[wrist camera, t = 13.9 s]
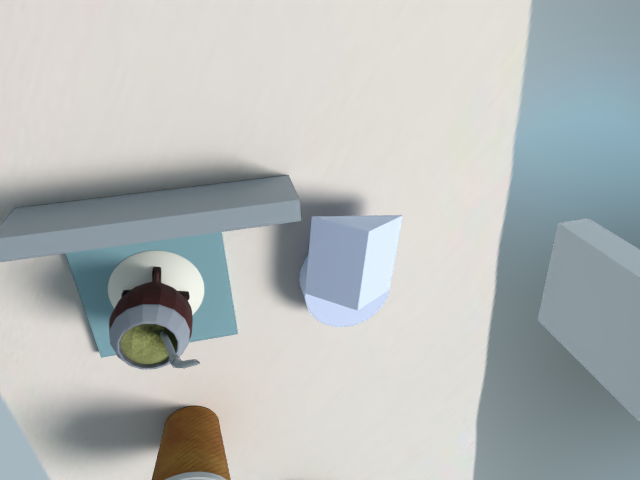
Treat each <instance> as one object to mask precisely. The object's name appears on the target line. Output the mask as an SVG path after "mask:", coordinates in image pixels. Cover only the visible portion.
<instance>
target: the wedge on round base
mask: <svg viewBox="0 0 640 480" xmlns="http://www.w3.org/2000/svg"><path fill="white" fill-rule="evenodd" d="M402 217H403V215H386V216H312V219H311V231H310V243H309V255H308V256H307V258H306V259H305V261H304V263H303V265H302V267H301V270H300V276H299V282H300V287H301V290H302V293H303V296H304V299H305V302H306V305H307V308H308V310H309V312H310V313H311V314H312V316H313V317H314V318H315V319H317V320H318V321H320V322H321V323H323V324H326V325H329V326H334V327H347V326H353V325H356V324H359V323H361V322H364V321H365V320H367V319H369V318H370V317H372V316H373V315H374V314H375V313H377V312H378V310H379V309H380V308H381V307H382V306H383V304H384V303H385V301H386V299H387V297H388V294H389V290H390V285H391V279H392V273H393V268H394V262H395V256H396V251H397V245H398V240H399V234H400V228H401V223H402Z"/></svg>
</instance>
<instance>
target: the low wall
mask: <svg viewBox="0 0 640 480" xmlns="http://www.w3.org/2000/svg"><path fill="white" fill-rule="evenodd" d="M297 221H301V210H300V199H299V197H298V195H297V193H296V190H295V188H294V186H293V184H292V182H291V179H290V177H289V175H286V176H278V177H270V178H261V179H253V180H245V181H236V182H228V183H220V184H212V185H203V186H195V187H187V188H178V189H170V190H162V191H153V192H145V193H137V194H128V195H120V196H112V197H103V198H95V199H87V200H78V201H70V202H62V203H54V204H45V205H37V206H29V207H20V208H15V209H14V210H13V211H12V212H11V214H10V215H9V216H8V217H7V219H6V220H5V221H4V222H3V223H2V225H1V226H0V262H5V261H12V260H20V259H27V258H34V257H42V256H49V255H56V254H63V253H71V252H78V251H85V250H93V249H100V248H107V247H115V246H122V245H129V244H137V243H144V242H151V241H159V240H166V239H173V238H180V237H188V236H195V235H202V234H210V233H217V232H224V231H232V230H239V229H246V228H254V227H261V226H268V225H276V224H283V223H290V222H297Z"/></svg>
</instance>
